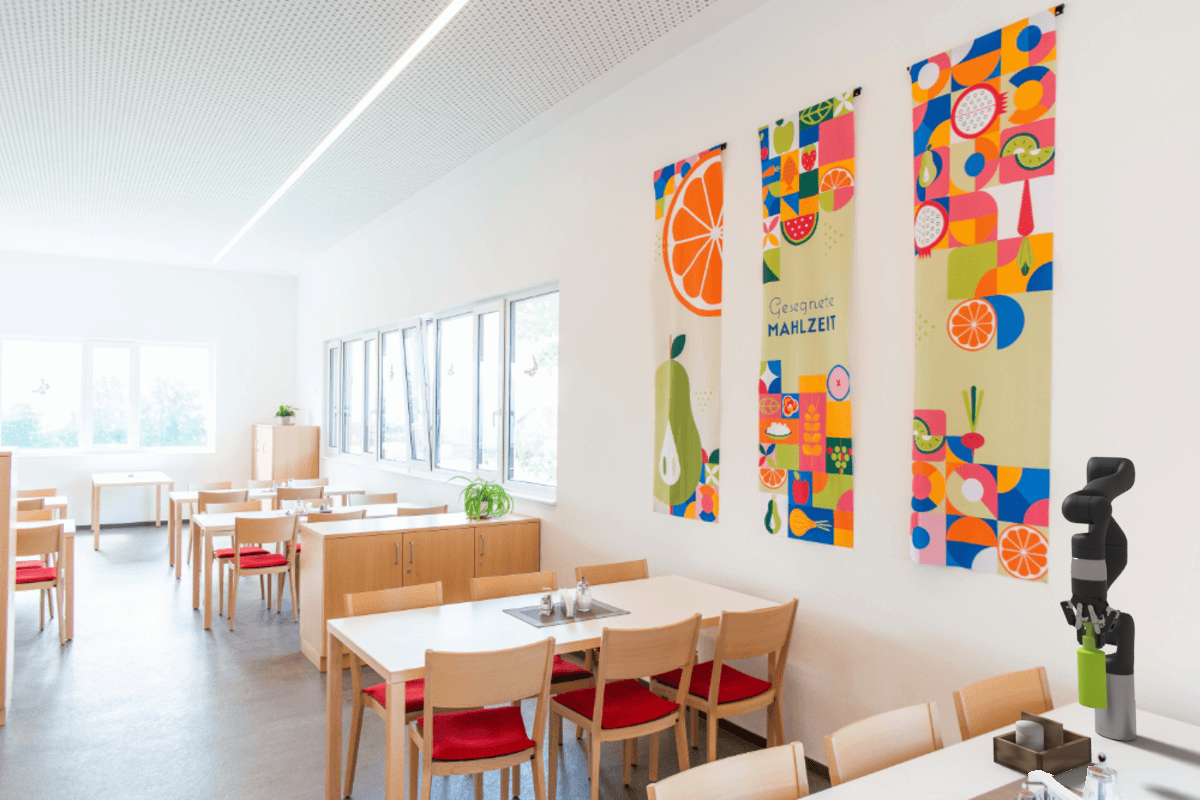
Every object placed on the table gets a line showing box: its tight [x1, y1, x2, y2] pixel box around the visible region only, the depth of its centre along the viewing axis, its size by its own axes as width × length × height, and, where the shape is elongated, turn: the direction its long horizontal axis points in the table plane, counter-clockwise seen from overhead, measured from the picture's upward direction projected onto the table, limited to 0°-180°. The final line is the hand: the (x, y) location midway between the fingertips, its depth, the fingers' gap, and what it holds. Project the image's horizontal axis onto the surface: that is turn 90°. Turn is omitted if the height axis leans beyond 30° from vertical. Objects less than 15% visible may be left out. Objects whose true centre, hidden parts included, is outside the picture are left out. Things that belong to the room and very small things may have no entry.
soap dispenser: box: [1076, 622, 1107, 709], centre depth 190 cm, size 6×7×20 cm
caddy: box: [992, 710, 1093, 777], centre depth 191 cm, size 12×21×11 cm, turn 119°
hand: (1090, 646), depth 190 cm, fingers closed on soap dispenser, 3 cm apart
